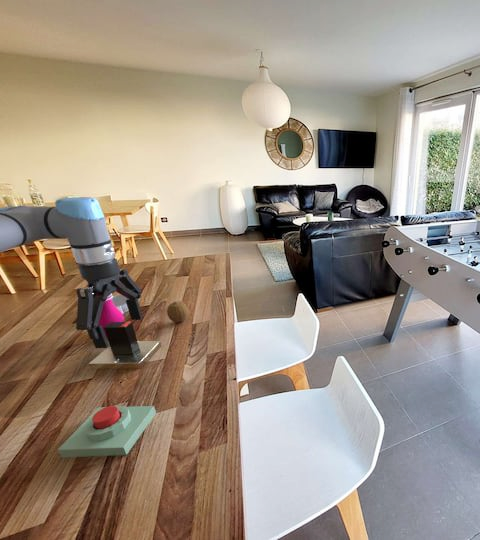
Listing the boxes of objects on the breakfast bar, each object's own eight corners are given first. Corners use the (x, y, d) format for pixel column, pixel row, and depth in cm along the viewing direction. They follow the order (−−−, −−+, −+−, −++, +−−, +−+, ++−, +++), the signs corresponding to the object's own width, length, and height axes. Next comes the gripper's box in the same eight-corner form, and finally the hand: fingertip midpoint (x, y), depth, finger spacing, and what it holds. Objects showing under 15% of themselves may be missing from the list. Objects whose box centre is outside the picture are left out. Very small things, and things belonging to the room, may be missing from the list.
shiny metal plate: (90, 369, 78) (88, 363, 77) (117, 346, 87) (115, 340, 86) (141, 368, 79) (139, 362, 78) (161, 346, 88) (160, 340, 87)
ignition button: (89, 429, 57) (86, 422, 57) (105, 413, 61) (102, 406, 60) (111, 429, 58) (108, 421, 57) (124, 412, 61) (122, 405, 61)
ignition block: (61, 457, 56) (54, 443, 54) (100, 414, 65) (95, 401, 63) (126, 455, 57) (121, 441, 55) (156, 412, 66) (152, 399, 64)
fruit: (179, 328, 97) (174, 307, 94) (165, 324, 99) (160, 304, 96) (194, 319, 103) (190, 299, 100) (181, 315, 104) (176, 296, 101)
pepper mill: (104, 327, 96) (85, 272, 88) (130, 324, 98) (114, 270, 91) (94, 339, 89) (73, 281, 82) (122, 335, 92) (104, 279, 84)
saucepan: (133, 299, 114) (131, 291, 112) (142, 317, 102) (140, 308, 101) (98, 308, 107) (95, 299, 105) (103, 328, 95) (100, 319, 94)
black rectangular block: (112, 354, 81) (103, 326, 77) (119, 348, 83) (110, 321, 80) (133, 354, 81) (124, 326, 78) (139, 348, 84) (131, 321, 80)
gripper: (70, 281, 60) (100, 361, 68) (144, 246, 84) (161, 309, 91) (31, 281, 60) (67, 362, 68) (117, 245, 83) (136, 309, 91)
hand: (121, 332), depth 80 cm, fingers open, 13 cm apart
